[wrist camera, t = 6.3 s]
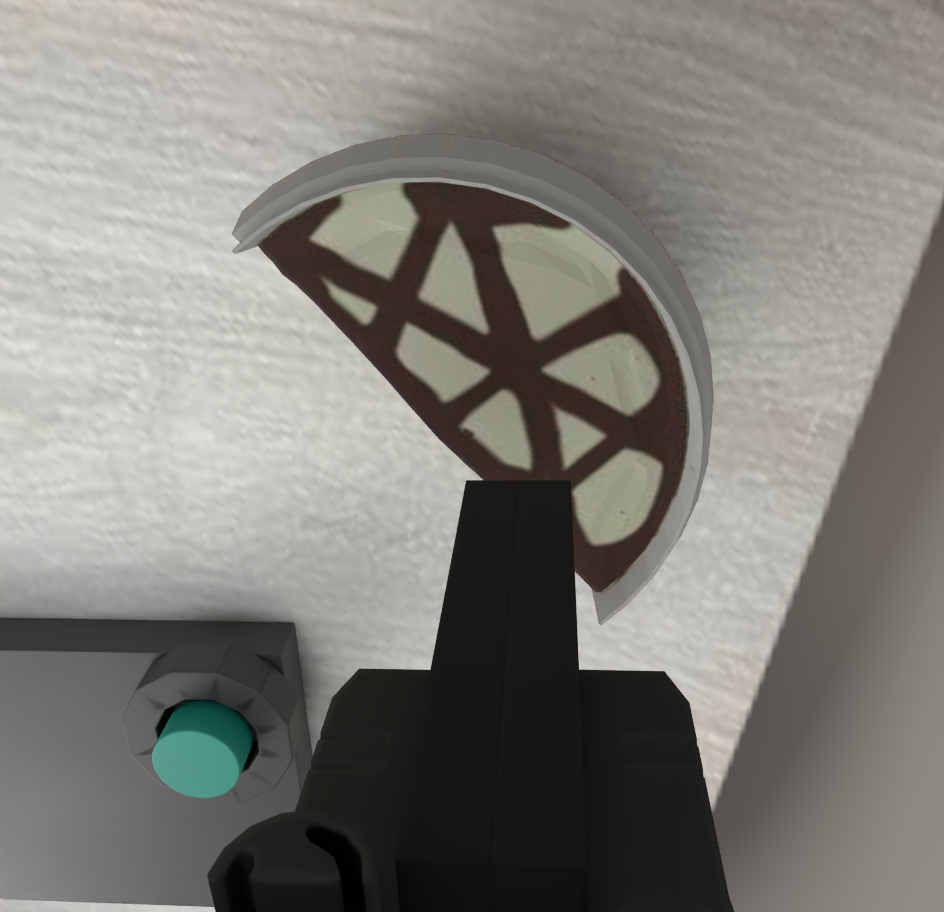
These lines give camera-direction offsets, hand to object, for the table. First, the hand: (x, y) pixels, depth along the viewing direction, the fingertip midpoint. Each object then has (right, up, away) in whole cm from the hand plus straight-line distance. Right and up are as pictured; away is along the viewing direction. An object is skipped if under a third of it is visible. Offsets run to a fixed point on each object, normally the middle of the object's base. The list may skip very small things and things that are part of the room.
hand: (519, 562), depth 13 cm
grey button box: (-15, -10, +23) cm, 30 cm away
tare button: (-10, -8, +18) cm, 22 cm away
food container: (+1, +8, +14) cm, 16 cm away
